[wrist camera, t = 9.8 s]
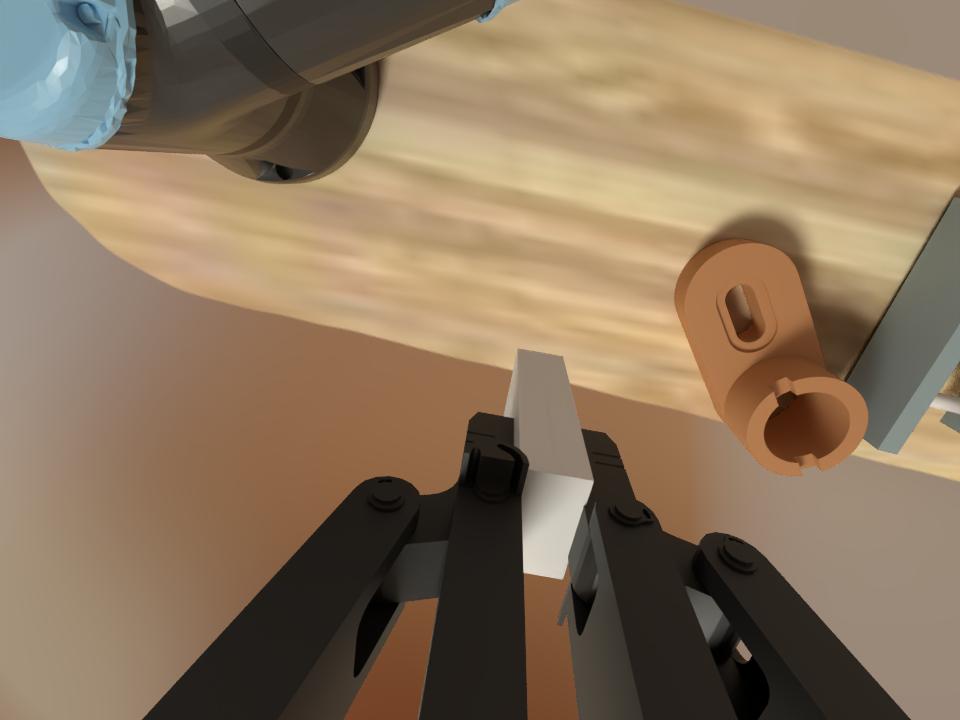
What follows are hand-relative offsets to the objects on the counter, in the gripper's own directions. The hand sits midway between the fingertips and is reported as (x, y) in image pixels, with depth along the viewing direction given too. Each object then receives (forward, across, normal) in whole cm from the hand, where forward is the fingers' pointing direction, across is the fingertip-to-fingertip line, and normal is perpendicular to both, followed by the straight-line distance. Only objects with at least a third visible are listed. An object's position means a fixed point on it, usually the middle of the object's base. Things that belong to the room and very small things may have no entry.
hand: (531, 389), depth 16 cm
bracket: (+25, +20, -4) cm, 32 cm away
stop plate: (+24, +34, 0) cm, 41 cm away
